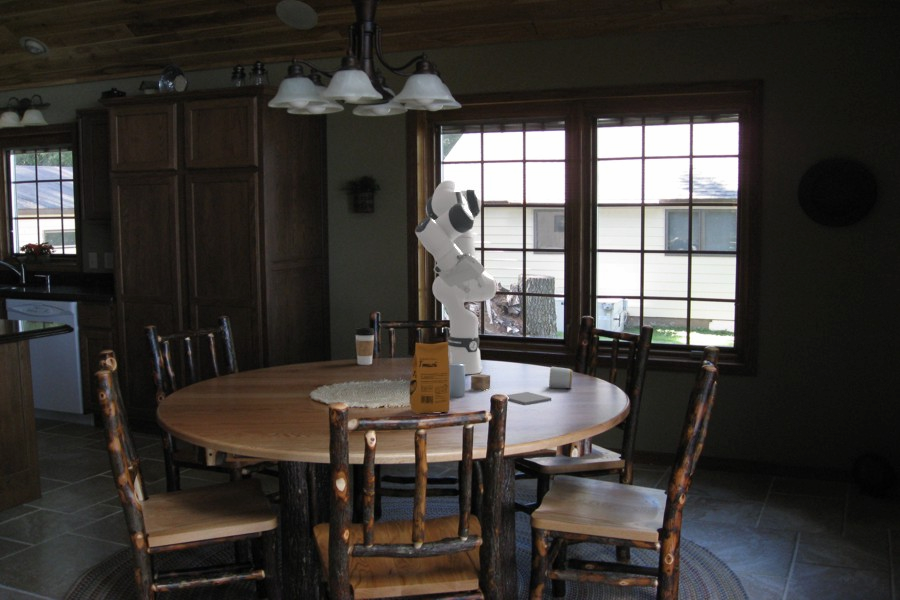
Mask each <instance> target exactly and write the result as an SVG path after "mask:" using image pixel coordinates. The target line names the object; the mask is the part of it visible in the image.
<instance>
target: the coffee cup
mask: <svg viewBox="0 0 900 600" xmlns="http://www.w3.org/2000/svg"><path fill="white" fill-rule="evenodd" d="M354 335H355V348H356V349H355V350H356V357H357V358H356V359H357V365H361V366H364V365H365V366H367V365H368V366H369V365H372V364H373V355H374V343H375V335H376V333H375V330H374V328H373V327H359V328H355V332H354Z"/></svg>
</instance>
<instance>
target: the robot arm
mask: <svg viewBox="0 0 900 600" xmlns="http://www.w3.org/2000/svg"><path fill="white" fill-rule="evenodd" d="M481 208H482V200H481V197H480V195H479V194H478V191H477V190H475V189H467V190H461V189H460V187H459V185H458V184H457V183H456V182H455V181H453V180H444V181H442V182H440V183H439V184H438V186H436V188H435V190H434V192H433V194H432V195H431V196H430V197H429V198H428V199H427V200H426V205H425V212H426V215H427V217H425V218H424V219H422V220H421V221H420V222H419V223H418V225H417V226H416V227H415V229H414V232H415V235H416V237H417V238H418V240H419V242H420V243H421V245H422V246H423V247H424V248H425V250H426V251H427V252H429V253H430V254H431V256H433V258H434V260H435V262H436V265H435V266H434V268H433V272H435V273H436V274H438V276H436V277H435V279H434V281H433V283H432V289H431V290H432V294H433V295H434V298H435V299H436V300H437V301H438V302H440V303H441V304H442V305H443V306H444V307H445V309H446V311H447V314H448V317H449V328H450V329H449V331H450V333H449V334H450V335H449V336H447V337H446V338H445V340H446V341H447V342H448V347H449V349H448V356H449V364H450V363H463V364H465V375H476V374H481V372H482V370H484V368H483V365H482V361H481V350H480V348H479V346H480V336H479V318H478V316H477V315H476V313H474V312H473V311H471V310H469V309H467V308H466V307H465V302H468V303H469V302H484V301H489V300H492V299H493V298H494V297H495V295H496V293H497V290H498V289H497V288H498V287H497V282H496V280H495V278H494V277H493V276H492V275H491V274H489V273H488V272H486V271H485V268H484V265H482V264H481V262H480V261H479V260H478V258H477V253H476V247H475V239H474V233H473V226H474V222H475V218H477V216H478V215H479V213H480V212H481Z"/></svg>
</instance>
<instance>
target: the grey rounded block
mask: <svg viewBox="0 0 900 600" xmlns="http://www.w3.org/2000/svg"><path fill="white" fill-rule="evenodd" d="M549 371H550V372H549V382H548V384H549V385H548V387H549V388H550V387H551V389H564V388H568V389H571V388H572V386H573V377H574V376H573V373H574V371H573V370H572V369H571V368H565V367H557V366H551V367H550V370H549Z"/></svg>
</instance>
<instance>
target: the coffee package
mask: <svg viewBox="0 0 900 600" xmlns="http://www.w3.org/2000/svg"><path fill="white" fill-rule="evenodd" d="M414 347H415V348H414V349H415V350H414V356H413V360H412V367H411V375H410V383H409V404H410V406H411V407H410V408H411V411H412V413H413V414H416V415H421V413H422V414H431V413H433V412H445V413H448V412H447V411H449V412H450V398H451V397H450V392H449V376H450V369H449V356H448V349H449V347H448V341H444V342H438V343H434V344H433V343H422V342H415V346H414Z"/></svg>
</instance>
